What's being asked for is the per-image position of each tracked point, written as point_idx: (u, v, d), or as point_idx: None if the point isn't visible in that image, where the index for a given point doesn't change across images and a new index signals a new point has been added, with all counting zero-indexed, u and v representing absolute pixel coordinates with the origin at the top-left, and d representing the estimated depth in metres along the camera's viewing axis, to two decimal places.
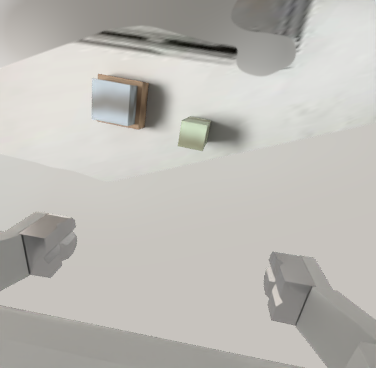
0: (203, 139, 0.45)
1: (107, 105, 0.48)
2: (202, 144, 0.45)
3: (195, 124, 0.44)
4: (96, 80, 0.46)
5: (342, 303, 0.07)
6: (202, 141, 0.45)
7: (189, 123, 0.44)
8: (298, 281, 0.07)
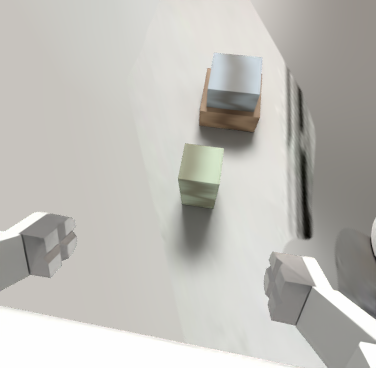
0: (196, 179, 0.28)
1: (231, 69, 0.37)
2: (188, 178, 0.28)
3: (219, 167, 0.28)
4: (260, 61, 0.38)
5: (341, 302, 0.07)
6: (193, 178, 0.28)
7: (220, 158, 0.29)
8: (298, 281, 0.07)
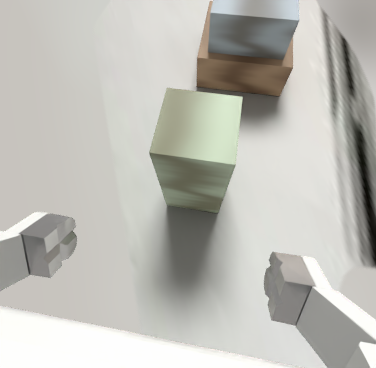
0: (188, 154, 0.13)
1: None
2: (171, 152, 0.13)
3: (234, 131, 0.14)
4: None
5: (341, 303, 0.07)
6: (181, 151, 0.13)
7: (236, 115, 0.14)
8: (298, 281, 0.07)
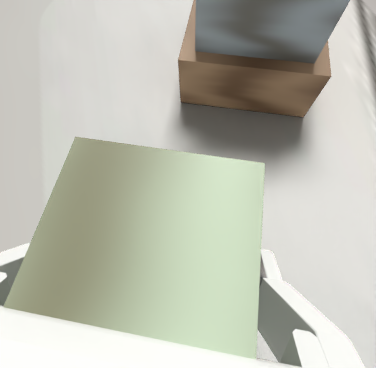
0: None
1: None
2: None
3: (247, 277, 0.05)
4: None
5: (288, 293, 0.07)
6: None
7: (249, 222, 0.05)
8: None
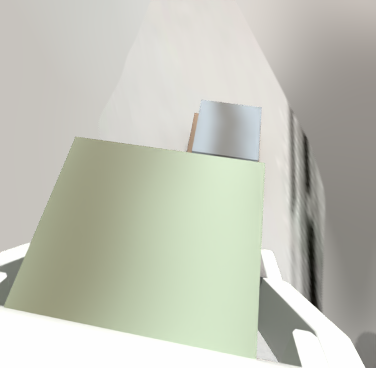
0: None
1: (223, 123, 0.30)
2: None
3: (247, 277, 0.05)
4: (259, 112, 0.30)
5: (288, 293, 0.07)
6: None
7: (250, 221, 0.05)
8: None
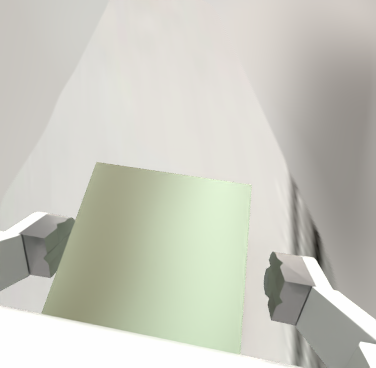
0: None
1: None
2: None
3: (235, 277, 0.06)
4: None
5: (342, 303, 0.07)
6: None
7: (238, 233, 0.07)
8: (298, 281, 0.07)
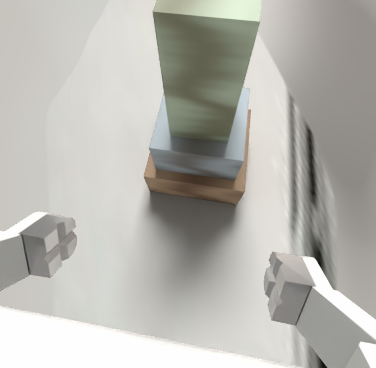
0: (200, 13, 0.11)
1: None
2: (180, 11, 0.11)
3: None
4: (246, 95, 0.22)
5: (342, 303, 0.07)
6: (192, 10, 0.11)
7: None
8: (298, 281, 0.07)
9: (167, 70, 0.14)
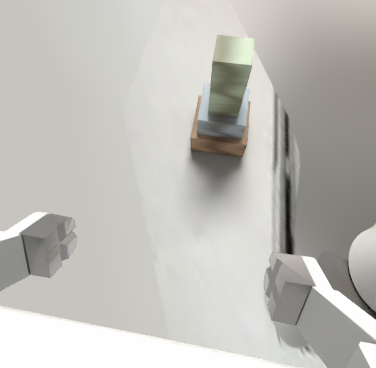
0: (230, 61, 0.29)
1: None
2: (222, 60, 0.29)
3: (251, 52, 0.30)
4: (247, 92, 0.40)
5: (341, 303, 0.07)
6: (227, 60, 0.29)
7: (251, 46, 0.30)
8: (298, 281, 0.07)
9: (213, 81, 0.32)
